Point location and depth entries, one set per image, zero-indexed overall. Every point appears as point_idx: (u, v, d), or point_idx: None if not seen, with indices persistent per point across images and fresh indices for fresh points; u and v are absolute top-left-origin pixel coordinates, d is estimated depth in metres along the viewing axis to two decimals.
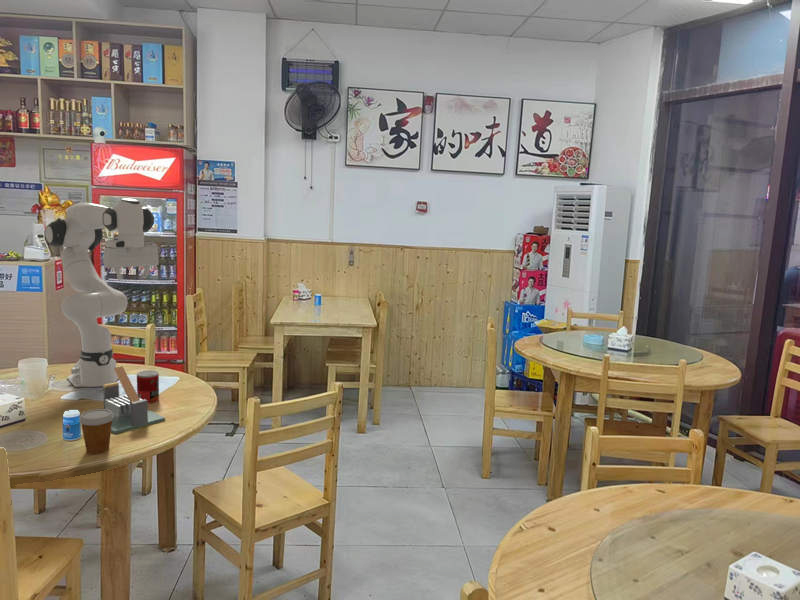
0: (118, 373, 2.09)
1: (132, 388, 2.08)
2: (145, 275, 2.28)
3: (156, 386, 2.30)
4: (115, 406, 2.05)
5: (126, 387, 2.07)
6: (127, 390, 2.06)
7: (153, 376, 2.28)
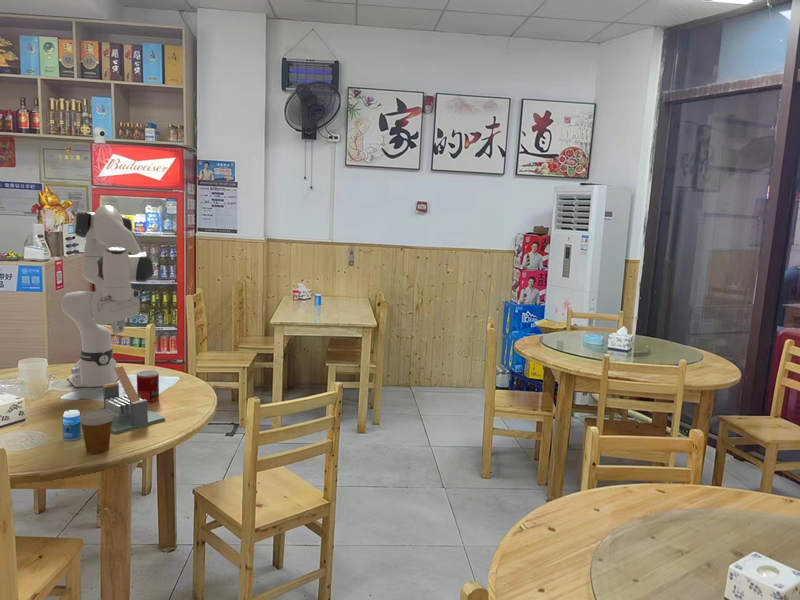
0: (118, 373, 2.09)
1: (132, 388, 2.08)
2: None
3: (156, 386, 2.30)
4: (115, 406, 2.05)
5: (126, 387, 2.07)
6: (127, 390, 2.06)
7: (153, 376, 2.28)
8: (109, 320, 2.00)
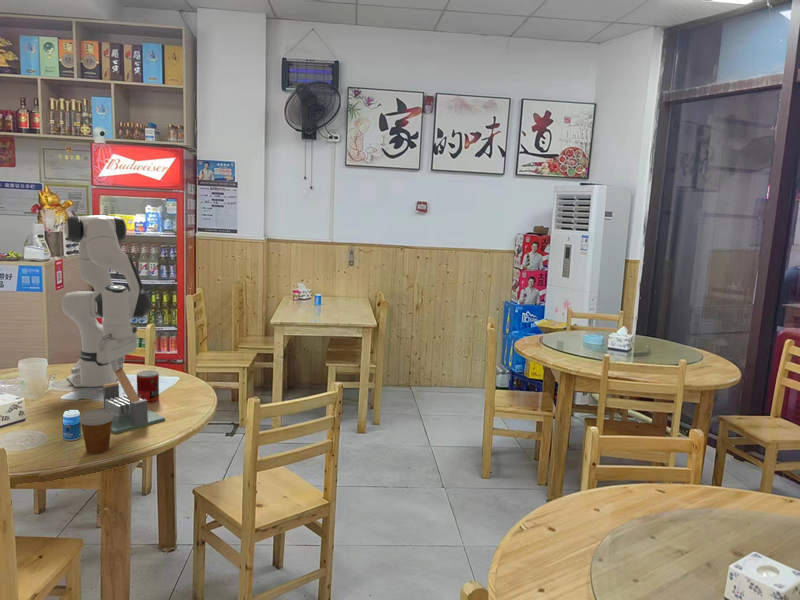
0: (117, 374, 2.09)
1: (131, 389, 2.08)
2: None
3: (156, 386, 2.30)
4: (115, 406, 2.05)
5: (126, 388, 2.07)
6: (127, 390, 2.07)
7: (153, 376, 2.28)
8: (111, 358, 2.02)
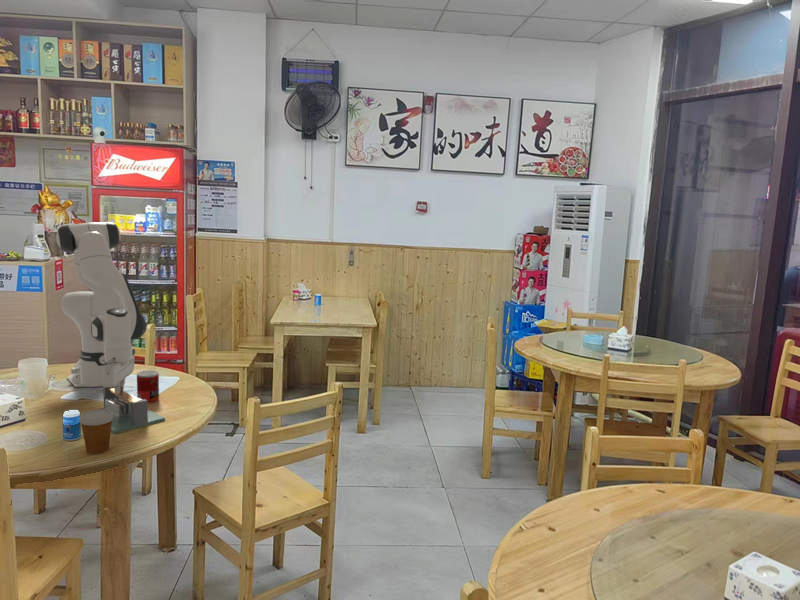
0: (114, 391, 2.12)
1: (129, 396, 2.10)
2: None
3: (156, 386, 2.30)
4: (115, 406, 2.05)
5: (123, 396, 2.09)
6: (125, 397, 2.08)
7: (153, 376, 2.28)
8: (116, 382, 2.04)
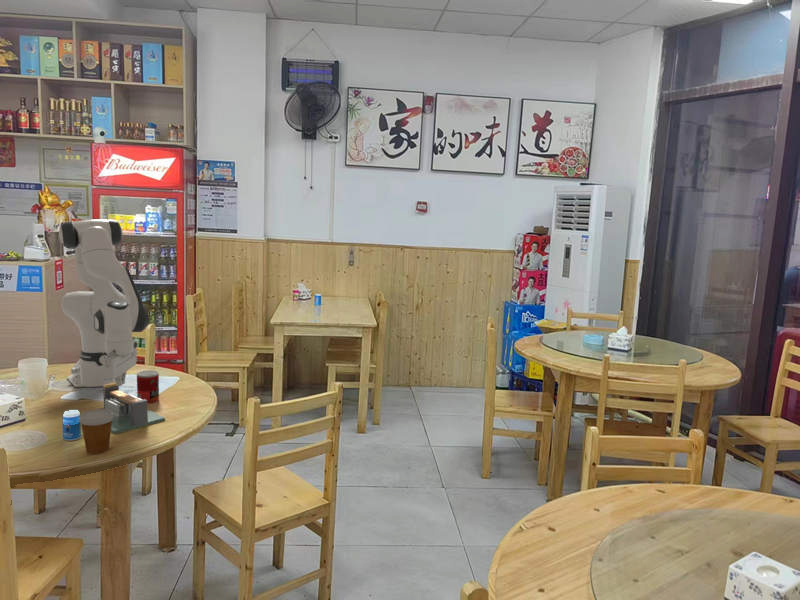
0: (114, 392, 2.13)
1: (129, 396, 2.10)
2: None
3: (156, 386, 2.30)
4: (115, 406, 2.05)
5: (123, 397, 2.09)
6: (125, 398, 2.08)
7: (153, 376, 2.28)
8: (116, 375, 2.04)
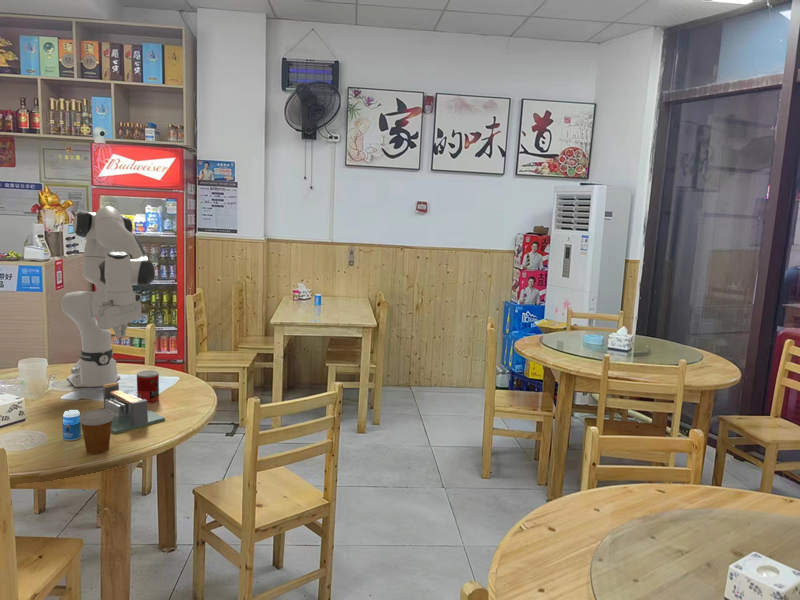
0: (114, 392, 2.13)
1: (129, 396, 2.10)
2: None
3: (156, 386, 2.30)
4: (115, 406, 2.05)
5: (123, 397, 2.09)
6: (125, 398, 2.08)
7: (153, 376, 2.28)
8: (111, 324, 2.02)
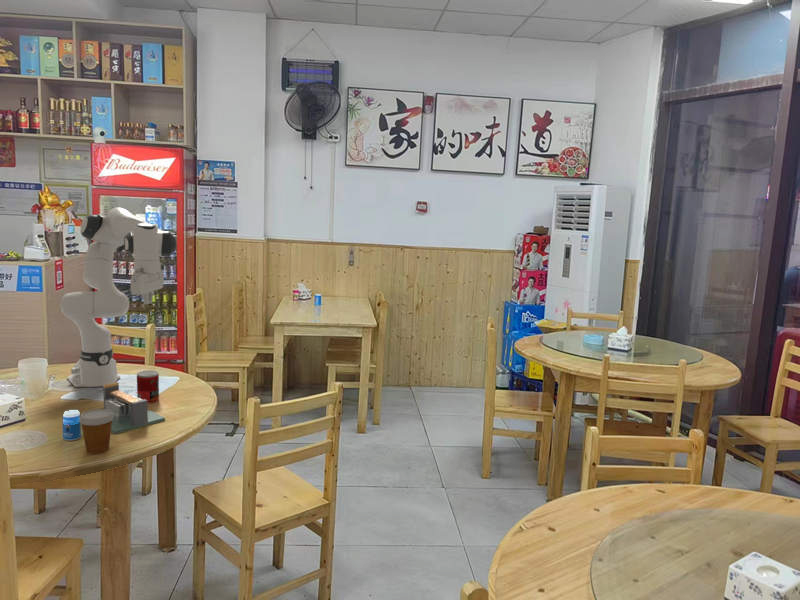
0: (114, 392, 2.13)
1: (129, 396, 2.10)
2: None
3: (156, 386, 2.30)
4: (115, 406, 2.05)
5: (123, 397, 2.09)
6: (125, 398, 2.08)
7: (153, 376, 2.28)
8: (143, 291, 2.15)
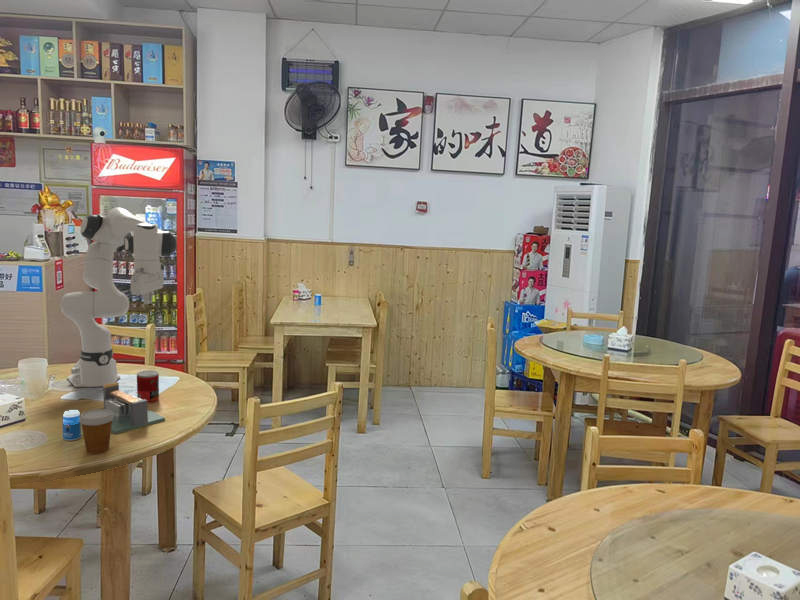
0: (114, 392, 2.13)
1: (129, 396, 2.10)
2: None
3: (156, 386, 2.30)
4: (115, 406, 2.05)
5: (123, 397, 2.09)
6: (125, 398, 2.08)
7: (153, 376, 2.28)
8: (143, 291, 2.15)
